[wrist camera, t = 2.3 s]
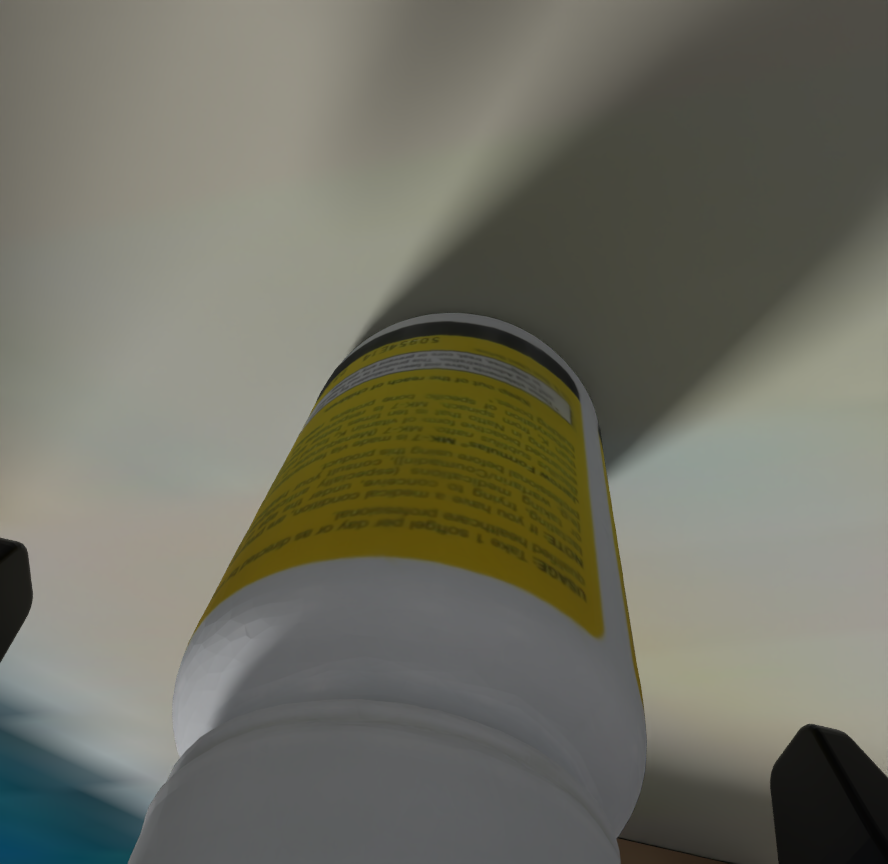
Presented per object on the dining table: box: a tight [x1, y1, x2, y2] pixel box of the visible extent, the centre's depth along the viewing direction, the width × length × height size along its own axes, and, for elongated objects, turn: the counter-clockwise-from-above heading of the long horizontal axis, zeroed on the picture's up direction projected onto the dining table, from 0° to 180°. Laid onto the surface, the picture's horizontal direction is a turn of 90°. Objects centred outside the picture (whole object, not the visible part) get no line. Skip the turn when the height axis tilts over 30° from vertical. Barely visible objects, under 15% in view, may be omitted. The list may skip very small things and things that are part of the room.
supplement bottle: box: [128, 313, 647, 864], centre depth 9 cm, size 5×5×8 cm
